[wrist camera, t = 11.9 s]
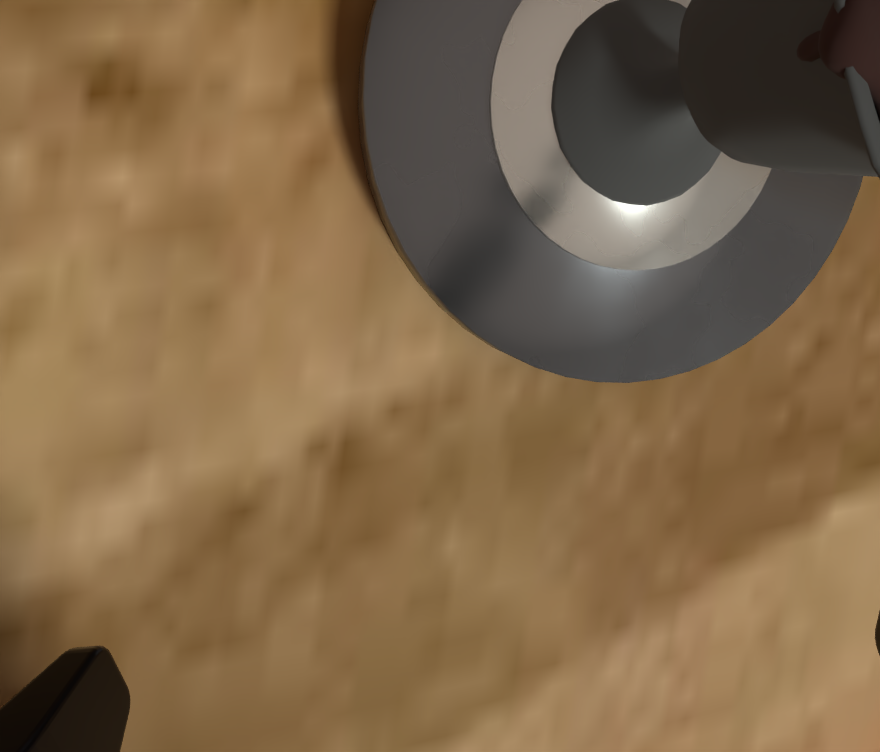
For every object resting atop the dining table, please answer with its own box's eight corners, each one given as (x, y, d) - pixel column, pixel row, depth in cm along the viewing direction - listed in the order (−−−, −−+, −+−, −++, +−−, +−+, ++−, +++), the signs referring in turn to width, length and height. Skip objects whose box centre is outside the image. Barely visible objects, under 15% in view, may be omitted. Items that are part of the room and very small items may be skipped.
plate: (756, 418, 22) (834, 446, 19) (299, 309, 19) (307, 323, 16) (905, -55, 21) (1017, -107, 18) (438, -279, 17) (476, -392, 14)
